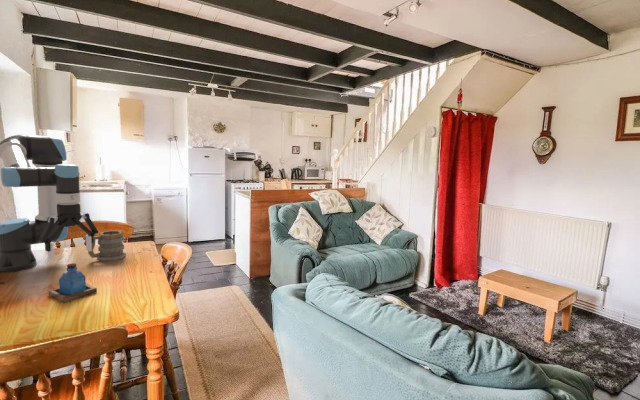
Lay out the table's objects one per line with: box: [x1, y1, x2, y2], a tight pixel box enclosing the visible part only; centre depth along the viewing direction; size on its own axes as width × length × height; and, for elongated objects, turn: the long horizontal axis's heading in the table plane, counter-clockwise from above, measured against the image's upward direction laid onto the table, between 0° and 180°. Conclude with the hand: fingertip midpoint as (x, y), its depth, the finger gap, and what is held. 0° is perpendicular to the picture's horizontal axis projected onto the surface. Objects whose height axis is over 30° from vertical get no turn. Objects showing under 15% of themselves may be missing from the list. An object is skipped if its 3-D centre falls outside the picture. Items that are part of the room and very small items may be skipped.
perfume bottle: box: [58, 262, 87, 296], centre depth 136 cm, size 6×6×12 cm
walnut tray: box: [48, 283, 98, 304], centre depth 137 cm, size 12×12×2 cm
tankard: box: [82, 230, 127, 262], centre depth 180 cm, size 20×13×15 cm, turn 144°
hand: (71, 254), depth 135 cm, fingers open, 13 cm apart
